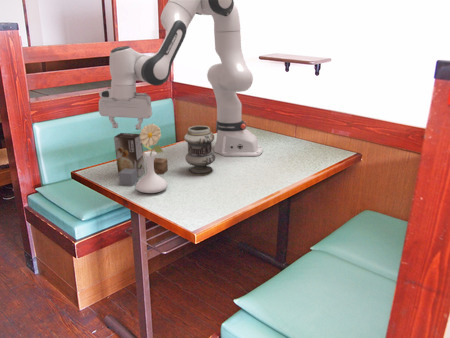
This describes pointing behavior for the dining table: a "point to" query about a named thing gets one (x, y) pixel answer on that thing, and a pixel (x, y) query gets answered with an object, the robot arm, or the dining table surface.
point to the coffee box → (129, 152)
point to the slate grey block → (128, 177)
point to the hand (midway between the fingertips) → (126, 128)
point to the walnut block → (160, 165)
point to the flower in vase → (151, 161)
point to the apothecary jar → (199, 149)
